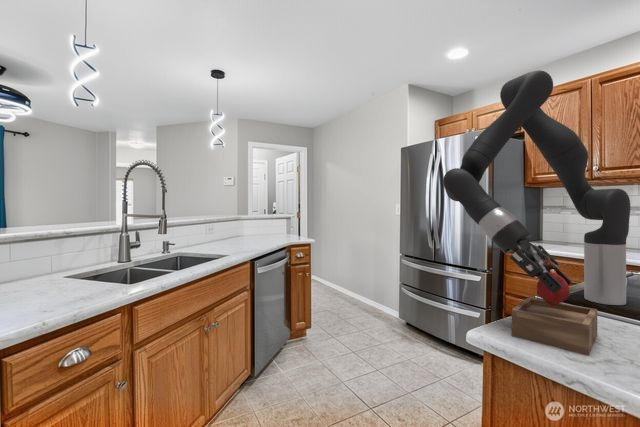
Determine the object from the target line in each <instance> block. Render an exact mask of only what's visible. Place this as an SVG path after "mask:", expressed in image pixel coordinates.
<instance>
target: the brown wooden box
mask: <svg viewBox="0 0 640 427" xmlns="http://www.w3.org/2000/svg"><path fill="white" fill-rule="evenodd" d="M511 337H512V338H513V337H514V338H517V339H522V340H526V341H528V342H534V343H538V344H540V345H541V344H542V345H545V346H548V347H549V346H550V347H553V348H557V349H560V350H563V351H569V352H573V353H577V354H579V355H580V354H581V355H585V356H588V357H590V354H591V351H592V350H593V347H594V344H595V342H596V340H597V338H598V309H597V308H591V307H586V306H585V307H584V306H581V305H573V304H567V303H564V302H562V303H559V304H557V305H555V306H550V305H549V304H548V303H547V302H545V301H544V300H543V299H538V298H533V297H527V298H525V299H524V300H522V301H520V302H519V303H518V304H517V305H515V307H513V308H512V309H511Z"/></svg>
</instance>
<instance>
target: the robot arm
mask: <svg viewBox="0 0 640 427" xmlns="http://www.w3.org/2000/svg"><path fill="white" fill-rule="evenodd" d="M553 89H554V81H553V78H552V76H551V75H550V73H548V71H545V70H540V69H539V70H534V71H529V72H527V73H524V74H522V75H520V76H517V77H515V78H513V79H512V78H511V79H510V80H508V81H507V82H505V83H504V84H503V85H502V87H501V88H500V93H499V94H500V95H499V96H500V101H501V104H502V106H503V107H504V109H505V110H504V111H503V112H502V113H501V114H500V115H499V116H498V117H497V118H496V119H495V120H494V121H493V122H492V123H491V124H489V125H488V126H487V127H486V128H485V129H484V130H483V131H482V132H481V133H479V134H478V136H477V137H476V138H475V139H474V140H473V142H472V143H471V145H470V146H469V148H468V149H467V150H466V151H465V153H464V154H463V157H462V160H461V165H460V167H458V168H457V167H456V168H455V167H454V168H452V169H450V170H448V171H447V172H446V173H445V174H444V176H443V178H442V179H443V180H442V183H443V188H444V191H445V192H446V195H447V197H448V198H449V199H450V200H452V201H454V202H459V203H460V204H461V206H463V208H464V210H465V212H466V214H467V215H468V216H469V217H470V218H471V219H472V220H473V221H474V222H475V223H476V224H477V225H478V226H479V227H480V229H481V230H482V231H483V233H484V234H485V235H486V236H487V237H488V238H489V239H490V240H491V241H492V242H493V244H495V245H496V246H497V248H499V250H500V251H501V252H502V253H503V254H510V253H512V254H511V255H510V256H509V258H510V260H512V261H513V263H515V264H516V265H517V266H518V267H519V268H520V269H521V270H522V271H524V272H525V273H526V274H527V275H528V277H530V278H535V279H537V280H541V281H542V282H543V283H544V284H545V285H546V286H547V287H548V288H549V289H550V290H551V291H552V292H557V291H558V290H560V289H561V288H562V285H561V284H560V283H559V282H558V281H557V280H556V279H555V278H554V277H553V276H552V275H551V274H550V270H552V269H553V270H555V271H556V273H557V274H558V275H559V276H561V277H562V278H563V279H564V280H565V281H566V282H567V284H568V286H570V285H571V284H572V283H573V282H572V280H571V279H570V278H569V277H568V276H567V275H566V274H564V273H563V272H562V270H560V269H559V265H560V264H559V262H558V261H557V260H556V259H554V257H553V256H552V255H551V254H550V253H549V252H548V251H547V250H546V249H545V248H544V247H543V245H540V244H538V245H536V244H533V243H532V242H530V241H529V240H530V239H531V238H532V236H533V233H532V232H531V231H530V230H529V228H528V227H526V226H525V225H524V224H523V223H522V222H521V221H519V220H518V219H517V218H516V217H515V216H514V215H513V214H512V213H511V212H509V211H508V210H507V209H506V208H504V207H503V206H502V205H501V204H500V203H498V201H496V200H495V199H494V198H493V197H492V196H491V195H489V193H487V192H486V190H485V189H484V188H483V187H482V185H481V184H480V181H481V180H482V178H483V176H484V174H485V172H486V170H487V169H488V168H489V167H490V165H491V164H492V163H493V162H494V160H495V159H496V157H497V156H498V155H499V153H500V152H501V150H502V149H503V148H504V146H505V145H507V143H508V141H509V140H510V139H511V138H512V137H513V136H514V135H515V134H516V132H517V131H518V130H519V129H520V128H522V129H523V130H524V131H525V133H526V134H527V135H528V136H529V138H530V140H531V141H532V142H533V144H534V145H535V147H536V148H537V149H538V151H539V153H541V155H542V156H543V157H542V158H544V160H545V162H547V164H548V165H549V166H550V168H551V169H552V170H553V172H554V173H555V174H556V176H557V178H558V180H560V182H561V184H562V185H563V187H564V189H565V190H566V193H567V194H568V196H569V198H570V201H571V202H572V204H573V206H574V207H575V210H576V211H577V212H578V214H579V215H580V216H581V217H583V218H584V219H586V220H591V221H602V223H601V226H600V227H599V228H597V229H594V230H591V231H588V232H586V233H584V234H583V235H584V236H583V261H584V262H583V273H584V274H583V275H584V276H583V280H584V281H583V283H584V284H583V287H584V288H583V290H584V291H583V295H584V299H585V300H586V301H588V302H589V301H590V302H592V303H597V304H602V305H609V306H624V305H626V304H627V238H628V236H629V233H630V232H629V231H630V217H631V200H630V197H629V193H628V192H627V191H625V190H624V189H621V188H606V189H605V188H603V189H594V188H593V187H592V185H590V183H589V182H588V180H587V178H586V171H587V167H588V162H589V151H588V149H587V147H586V146H585V144H584V143H583V141H582V140H581V138H580V136H579V135H578V134H577V133H576V132H575V131H574V130H572V129H571V128H570V127H568V126H566V125H564V124H563V123H561V122H559V121H558V120H557V119H555V118H553V117H552V116H549V115H548V114H547V113H546V112H544V111H543V109H542V108H541V107H542V106H543V105H544V104H545V103H546V102H547V101H548V100H549V98H550V96H551V95H552V93H553Z"/></svg>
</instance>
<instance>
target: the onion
mask: <svg viewBox="0 0 640 427" xmlns="http://www.w3.org/2000/svg"><path fill="white" fill-rule="evenodd" d="M550 274H551V275H552V276H553V277H554V278H555V279H556V280H557V281H558V282H559V283H560V284H561V285H562V288H561V289H560V290H558V291H557V292H552V291H551V290H550V289H549V288H548V287H547V286H546V285H545V284H544V283H543V282H542V281H541V280H540V279H538V281H537V284H536V291H537V294H538V296H539V297H540V298H541V300H544V301H545V302H547V303H548V304H549V305H550V306H555V305H557V304H559V303H564V301H566V300H567V299H568V298H569V296H570V293H571V292H570V285H568V284H567V282H566V281H565V280H564V279H563V278H562V277H561V276H559V275H558V274H557V273H556V271H555V270H553V269H552V270H550Z"/></svg>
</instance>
